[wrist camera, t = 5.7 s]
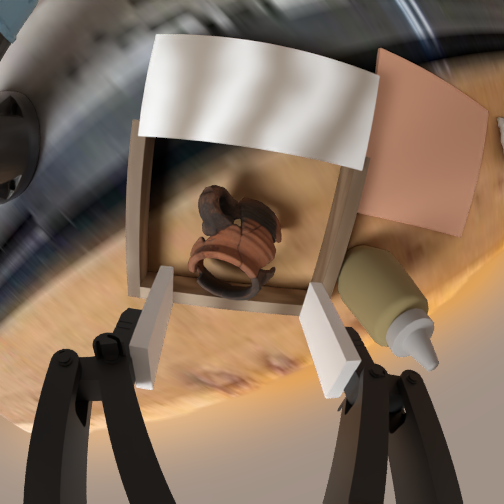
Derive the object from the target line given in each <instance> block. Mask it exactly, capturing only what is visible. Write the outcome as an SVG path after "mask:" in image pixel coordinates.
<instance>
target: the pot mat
mask: <svg viewBox="0 0 504 504" xmlns="http://www.w3.org/2000/svg"><path fill="white" fill-rule="evenodd" d="M375 74H376V75H379V76H380V78H379V85H378V92H377V98H376V104H375V110H374V116H373V121H372V127H371V132H370V137H369V142H368V147H367V151H366V157H370V163H369V167H368V171H367V176H366V180H365V184H364V188H363V192H362V196H361V200H360V204H359V207H358V211H357V213H360V214H365V215H370V216H374V217H379V218H384V219H388V220H393V221H397V222H401V223H405V224H410V225H414V226H418V227H422V228H426V229H430V230H434V231H438V232H442V233H445V234H449V235H453V236H457V237H460V238H461V235H462V232H463V229H464V226H465V223H466V220H467V216H468V213H469V210H470V206H471V203H472V199H473V195H474V192H475V188H476V183H477V179H478V175H479V170H480V166H481V161H482V155H483V150H484V144H485V137H486V130H487V122H488V113H489V111H488V110H486V109H485V108H484V107H482V106H481V105H480V104H478V103H477V102H475V101H474V100H473V99H471V98H470V97H468V96H467V95H466V94H464V93H463V92H461V91H460V90H458V89H457V88H455V87H454V86H452V85H450V84H449V83H447V82H446V81H444V80H442V79H441V78H439V77H437V76H436V75H434V74H432V73H430V72H429V71H427V70H425V69H423V68H421V67H419V66H418V65H416V64H414V63H412V62H410V61H408V60H406V59H404V58H402V57H400V56H398V55H395V54H393V53H391V52H389V51H387V50H384V49H382V48H379V49H378V54H377V62H376V69H375Z"/></svg>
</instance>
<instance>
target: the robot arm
mask: <svg viewBox="0 0 504 504" xmlns="http://www.w3.org/2000/svg"><path fill="white" fill-rule="evenodd" d="M37 3H38V0H0V61H1V59H2V58H3V56H4V54H5V53H6V51H7V49H8V48H9V46H10V45H11V43H12V44H13V43H14V41H15V40H16V35H17V34H18V32H19V31H20V29H21V28H22V26H23V25H24V23H25V22H26V20H27V19H28V17H29V16H30V14H31V13H32V12H33V10H34V9H35V7H36V5H37ZM39 146H40V131H39V123H38V118H37V114H36V111H35V109H34V107H33V105H32V103H31V101H30V100H29V99H28V98H27V97H26V96H25V95H24V94H22V93H20V92H16V91H1V92H0V204H4V203H6V202H8V201H10V200H12V199H14V198H16V197H18V196H19V195H20V194H21V193H22V192H23V191H24V190H25V189H26V187H27V186H28V184H29V182H30V181H31V178H32V176H33V174H34V171H35V168H36V164H37V160H38V154H39ZM173 272H174V267H169V266H160V269H159V271H158V273H157V276H156V278H155V280H154V283H153V285H152V287H151V290H150V292H149V295H148V297H147V300H146V302H145V305H144V307H143V310H138V309H132V308H128V309H127V310H125V311H124V312H123V313H122V314H121V316H120V318H119V321H118V323H117V325H116V328H115V329H114V331H113V333H103V334H100V335H99V336H97V337H96V338H95V339H94V341H93V349H94V353H95V356H93V357H78V355H77V353H76V352H74V351H73V350H70V349H62V350H59V351H57V352H56V353H55V354H54V355H53V356H52V358H51V361H50V364H49V367H48V371H47V374H46V377H45V381H44V384H43V387H42V391H41V395H40V399H39V403H38V407H37V411H36V415H35V420H34V424H33V429H32V434H31V440H30V445H29V452H28V459H27V466H26V475H25V486H24V503H23V504H86V503H87V500H86V475H87V474H86V472H87V451H88V436H89V426H90V416H91V408H92V401H102V403H103V408H104V413H105V418H106V423H107V428H108V432H109V436H110V441H111V444H112V449H113V452H114V456H115V460H116V463H117V466H118V470H119V473H120V476H121V480H122V483H123V485H124V489H125V491H126V494H127V497H128V500H129V503H130V504H176V502H175V500H174V498H173V496H172V494H171V492H170V490H169V487H168V485H167V483H166V480H165V478H164V475H163V473H162V471H161V468H160V466H159V463H158V461H157V458H156V455H155V453H154V450H153V447H152V444H151V442H150V439H149V436H148V433H147V430H146V427H145V424H144V420H143V417H142V414H141V411H140V407H139V404H138V400H137V397H136V393H135V389H134V384H135V382H136V387H137V388H143V389H148V390H153V386H154V382H155V377H156V372H157V368H158V363H159V359H160V355H161V350H162V346H163V342H164V338H165V334H166V330H167V326H168V322H169V318H170V314H171V310H172V306H173ZM299 319H300V322H301V325H302V328H303V331H304V334H305V337H306V340H307V343H308V346H309V349H310V352H311V355H312V358H313V361H314V364H315V367H316V370H317V373H318V377H319V380H320V382H321V386H322V389H323V392H324V395H325V398H338V397H340V396H341V394H342V392H343V391H345V394H346V397H345V399H344V400H343V402H342V403H341V405H340V407H339V408H338V411H340V410H341V408H342V413H341V420H340V426H339V431H338V437H337V443H336V448H335V453H334V458H333V462H332V467H331V472H330V476H329V480H328V484H327V489H326V493H325V496H324V500H323V504H383V502H384V494H385V485H386V474H387V461H388V457H389V462H390V467H391V473H392V479H393V485H394V491H395V498H396V504H463V500H462V496H461V492H460V488H459V484H458V480H457V476H456V472H455V469H454V465H453V462H452V459H451V455H450V452H449V449H448V446H447V443H446V440H445V437H444V434H443V431H442V428H441V425H440V423H439V420H438V417H437V415H436V412H435V409H434V407H433V404H432V401H431V399H430V396H429V394H428V391H427V389H426V386H425V384H424V382H423V379H422V378H421V376H420V375H419V374H418V373H417V372H415V371H413V370H405V371H403V372H402V374H401V375H400V376H396V375H390V374H387V371H386V370H385V369H384V368H383V367H382V366H380V365H378V364H374V362H373V360H372V358H371V357H370V355H369V353H368V351H367V349H366V347H365V346H364V343H363V341H361V338H360V336H359V334H358V333H357V332H356V331H355V330H354V329H353V328H352V327H344V325H343V323H342V321H341V319H340V317H339V315H338V313H337V311H336V309H335V307H334V305H333V303H332V302H331V300H330V298H329V296H328V294H327V292H326V290H325V288H324V287H323V285H322V283H316V282H310V284H309V287H308V291H307V294H306V297H305V300H304V304H303V307H302V310H301V313H300V316H299ZM404 408H405V411H406V413H405V412H404Z"/></svg>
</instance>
